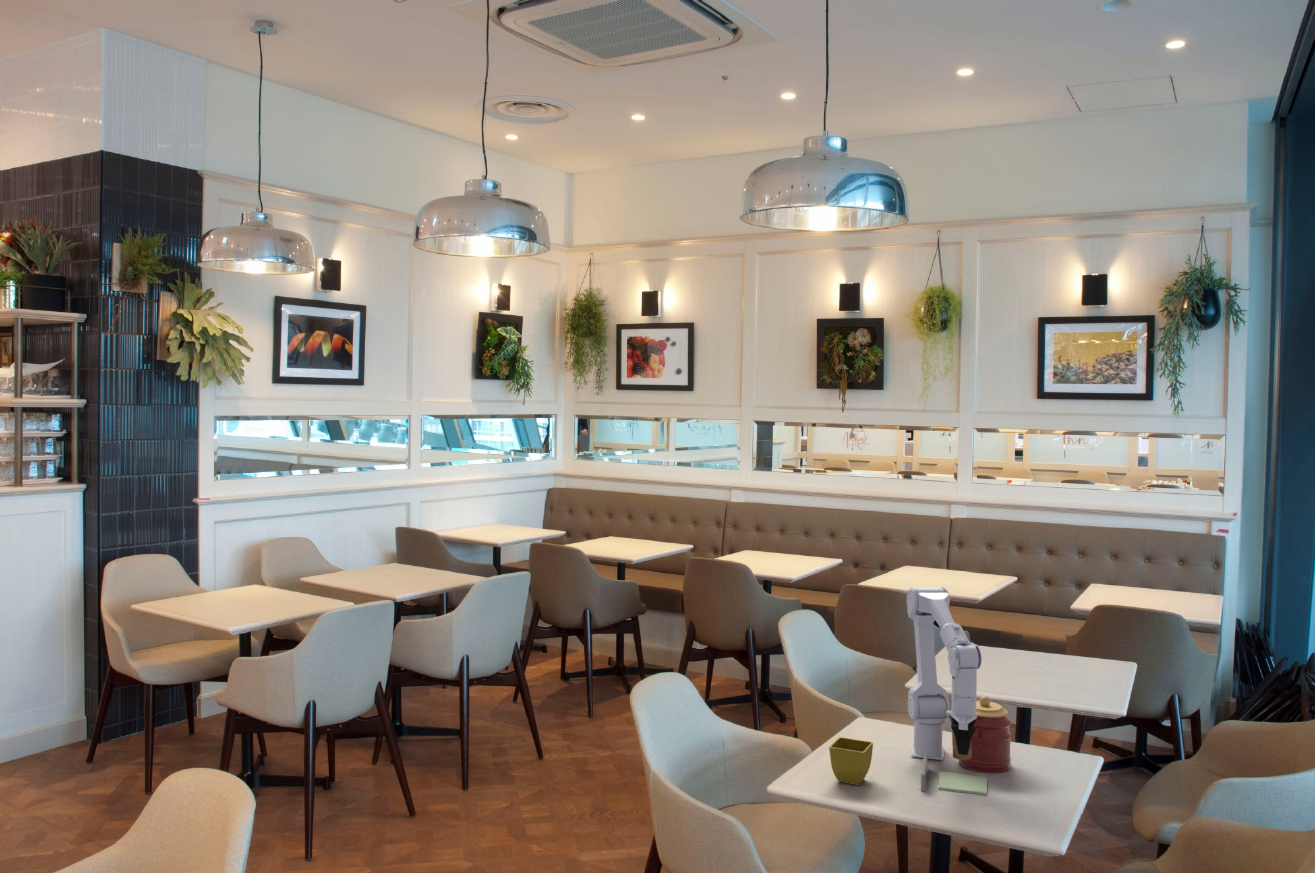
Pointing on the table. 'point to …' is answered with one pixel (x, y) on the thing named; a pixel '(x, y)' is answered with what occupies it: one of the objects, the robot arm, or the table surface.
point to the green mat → (963, 783)
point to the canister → (990, 739)
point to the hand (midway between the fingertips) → (963, 750)
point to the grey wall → (924, 771)
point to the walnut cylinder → (955, 751)
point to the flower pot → (850, 759)
